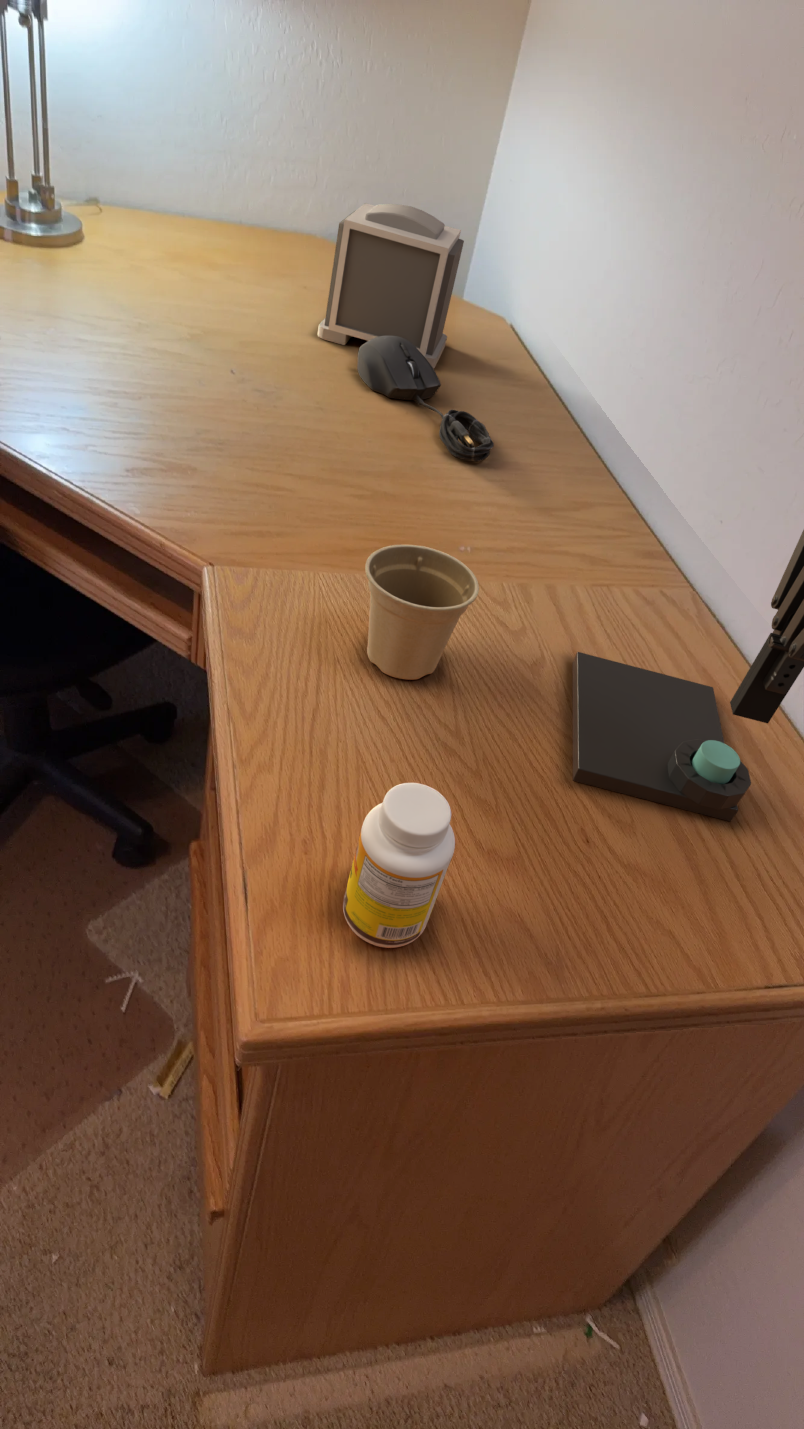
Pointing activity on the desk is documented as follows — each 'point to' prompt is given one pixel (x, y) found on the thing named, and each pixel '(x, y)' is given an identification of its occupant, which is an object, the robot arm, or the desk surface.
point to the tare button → (716, 761)
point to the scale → (648, 736)
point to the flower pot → (414, 607)
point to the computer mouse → (419, 391)
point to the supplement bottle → (399, 866)
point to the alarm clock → (392, 278)
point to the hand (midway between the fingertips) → (748, 712)
